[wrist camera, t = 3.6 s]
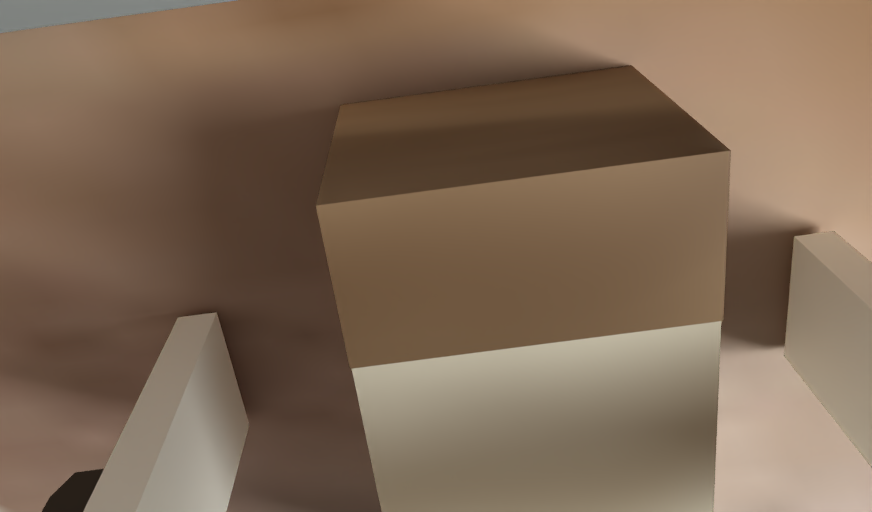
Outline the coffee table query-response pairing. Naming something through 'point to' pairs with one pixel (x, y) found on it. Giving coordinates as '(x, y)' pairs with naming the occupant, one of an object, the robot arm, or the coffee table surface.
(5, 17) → the mat
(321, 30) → the coffee table surface
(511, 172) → the cream block
